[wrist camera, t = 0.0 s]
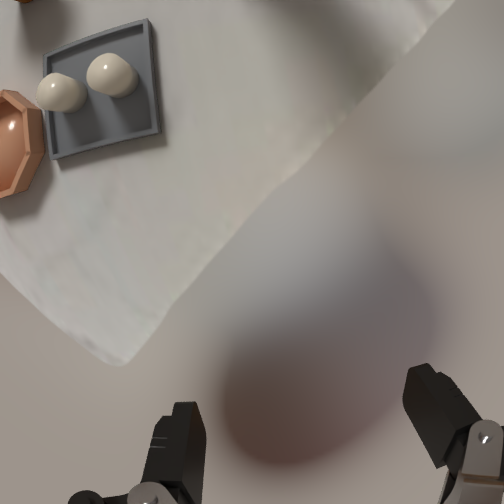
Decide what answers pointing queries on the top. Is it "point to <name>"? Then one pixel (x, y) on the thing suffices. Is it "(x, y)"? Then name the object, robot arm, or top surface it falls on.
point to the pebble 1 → (61, 93)
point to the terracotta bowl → (19, 142)
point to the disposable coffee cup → (24, 1)
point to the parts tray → (101, 105)
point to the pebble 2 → (112, 76)
